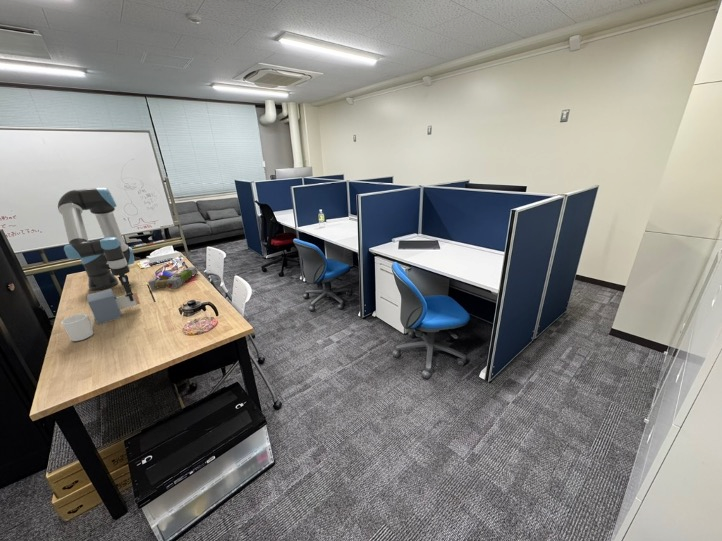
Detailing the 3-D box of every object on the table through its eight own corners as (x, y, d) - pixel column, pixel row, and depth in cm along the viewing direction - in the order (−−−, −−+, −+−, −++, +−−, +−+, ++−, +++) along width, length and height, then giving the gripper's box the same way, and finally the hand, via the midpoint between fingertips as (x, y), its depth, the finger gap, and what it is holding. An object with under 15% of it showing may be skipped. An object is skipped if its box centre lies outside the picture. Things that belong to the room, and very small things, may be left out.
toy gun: (174, 275, 211) (201, 274, 210) (147, 291, 185) (177, 290, 184) (171, 267, 208) (198, 265, 207) (144, 281, 183) (174, 280, 182)
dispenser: (96, 315, 158) (87, 294, 153) (120, 308, 164) (112, 288, 159) (97, 324, 149) (88, 302, 144) (123, 316, 156) (114, 295, 151)
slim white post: (99, 314, 154) (94, 303, 151) (139, 302, 165) (135, 291, 162) (99, 315, 153) (94, 304, 150) (140, 303, 164) (136, 292, 162)
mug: (74, 344, 134) (64, 326, 130) (67, 339, 138) (58, 320, 134) (103, 332, 142) (95, 314, 138) (96, 327, 147) (88, 310, 143)
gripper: (108, 262, 160) (121, 296, 168) (112, 274, 143) (126, 312, 151) (124, 259, 165) (137, 292, 173) (130, 270, 148) (143, 306, 156)
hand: (132, 301), depth 162 cm, fingers open, 13 cm apart
